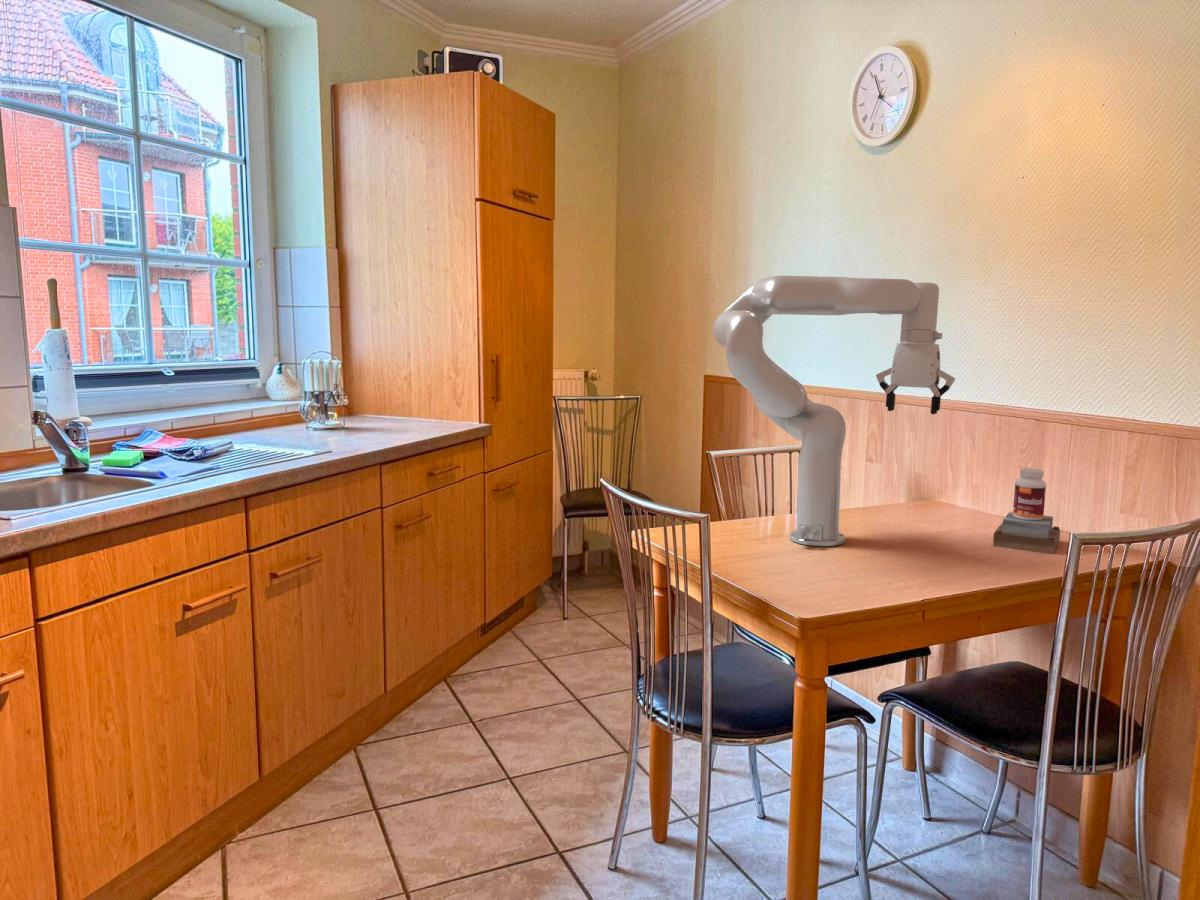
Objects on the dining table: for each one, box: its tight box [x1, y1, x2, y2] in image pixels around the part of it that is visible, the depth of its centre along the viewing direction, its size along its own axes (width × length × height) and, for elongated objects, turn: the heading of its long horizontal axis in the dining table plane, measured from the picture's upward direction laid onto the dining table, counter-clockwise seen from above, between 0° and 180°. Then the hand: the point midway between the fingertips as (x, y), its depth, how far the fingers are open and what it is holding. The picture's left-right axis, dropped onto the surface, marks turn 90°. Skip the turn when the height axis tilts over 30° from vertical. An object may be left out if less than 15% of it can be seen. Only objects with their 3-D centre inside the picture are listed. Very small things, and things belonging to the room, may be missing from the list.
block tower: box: [992, 511, 1061, 555], centre depth 185 cm, size 12×12×6 cm
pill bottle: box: [1012, 467, 1047, 521], centre depth 184 cm, size 6×6×11 cm
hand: (912, 412), depth 189 cm, fingers open, 9 cm apart
